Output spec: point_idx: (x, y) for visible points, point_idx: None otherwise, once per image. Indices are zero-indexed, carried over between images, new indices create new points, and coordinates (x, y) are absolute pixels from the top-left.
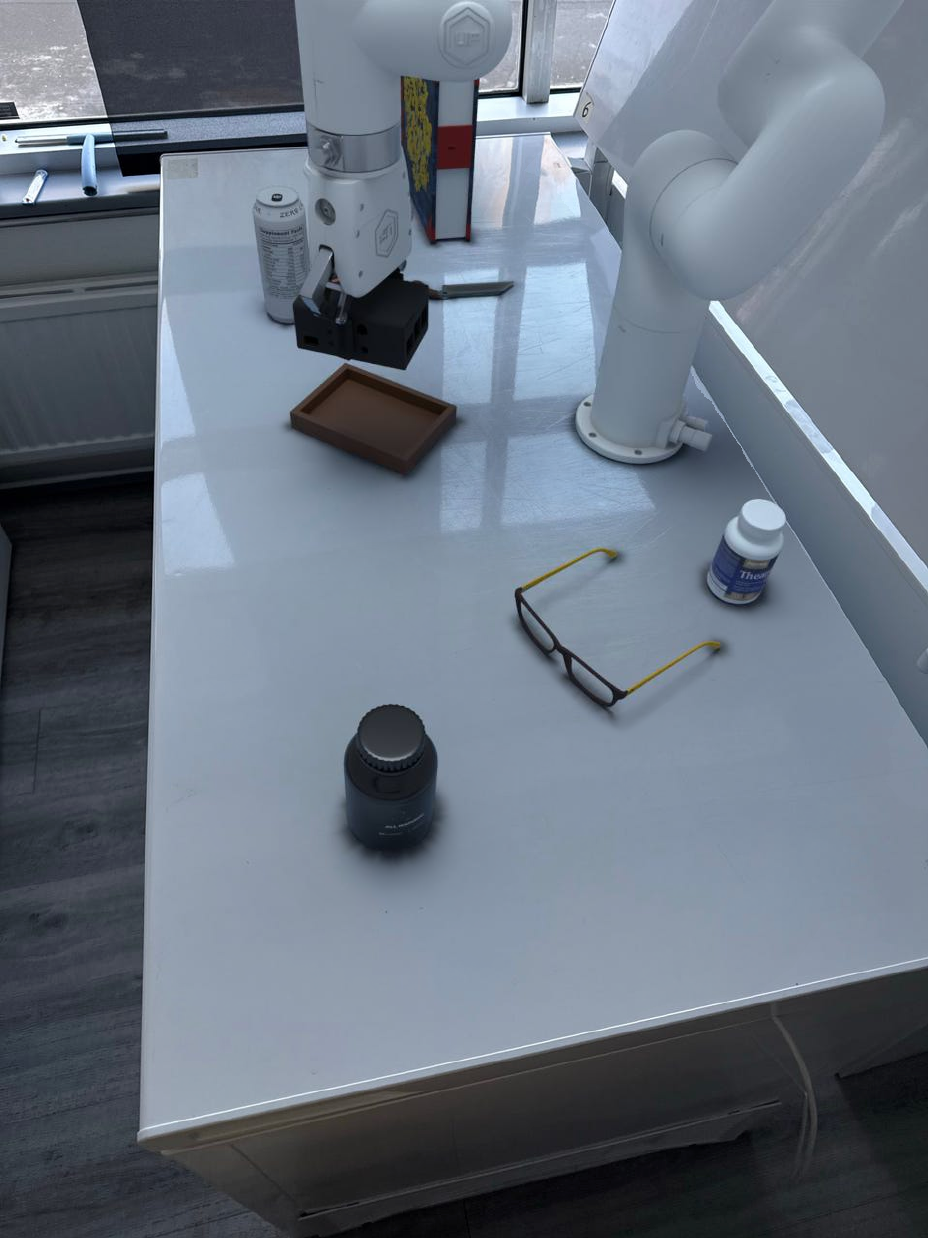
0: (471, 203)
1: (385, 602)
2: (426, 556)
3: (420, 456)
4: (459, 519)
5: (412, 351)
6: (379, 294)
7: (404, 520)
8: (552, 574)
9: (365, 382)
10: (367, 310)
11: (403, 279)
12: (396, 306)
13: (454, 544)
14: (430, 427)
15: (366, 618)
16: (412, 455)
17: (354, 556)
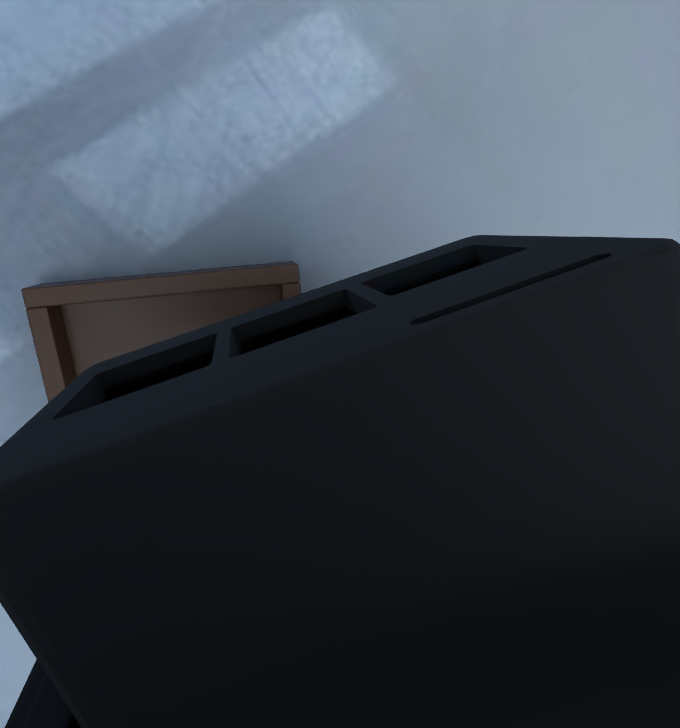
0: None
1: (612, 72)
2: (472, 69)
3: (228, 267)
4: (336, 67)
5: (372, 274)
6: (406, 679)
7: (410, 177)
8: None
9: None
10: (637, 591)
11: (29, 722)
12: (483, 476)
13: (410, 32)
14: (152, 292)
15: (658, 81)
16: (268, 266)
17: (543, 202)
